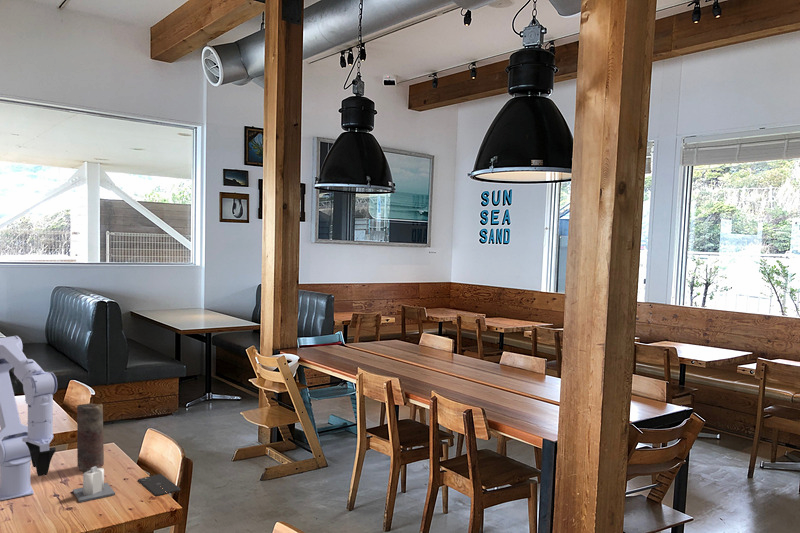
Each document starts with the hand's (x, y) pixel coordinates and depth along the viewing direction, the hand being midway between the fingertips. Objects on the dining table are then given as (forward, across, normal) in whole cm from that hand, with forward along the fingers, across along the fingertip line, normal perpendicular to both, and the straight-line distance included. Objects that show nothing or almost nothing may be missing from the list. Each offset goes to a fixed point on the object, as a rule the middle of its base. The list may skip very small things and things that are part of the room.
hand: (40, 470), depth 165 cm
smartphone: (+10, +2, +30) cm, 32 cm away
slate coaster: (+10, -2, +14) cm, 17 cm away
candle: (+10, -23, +17) cm, 30 cm away
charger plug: (+9, -2, +13) cm, 16 cm away
